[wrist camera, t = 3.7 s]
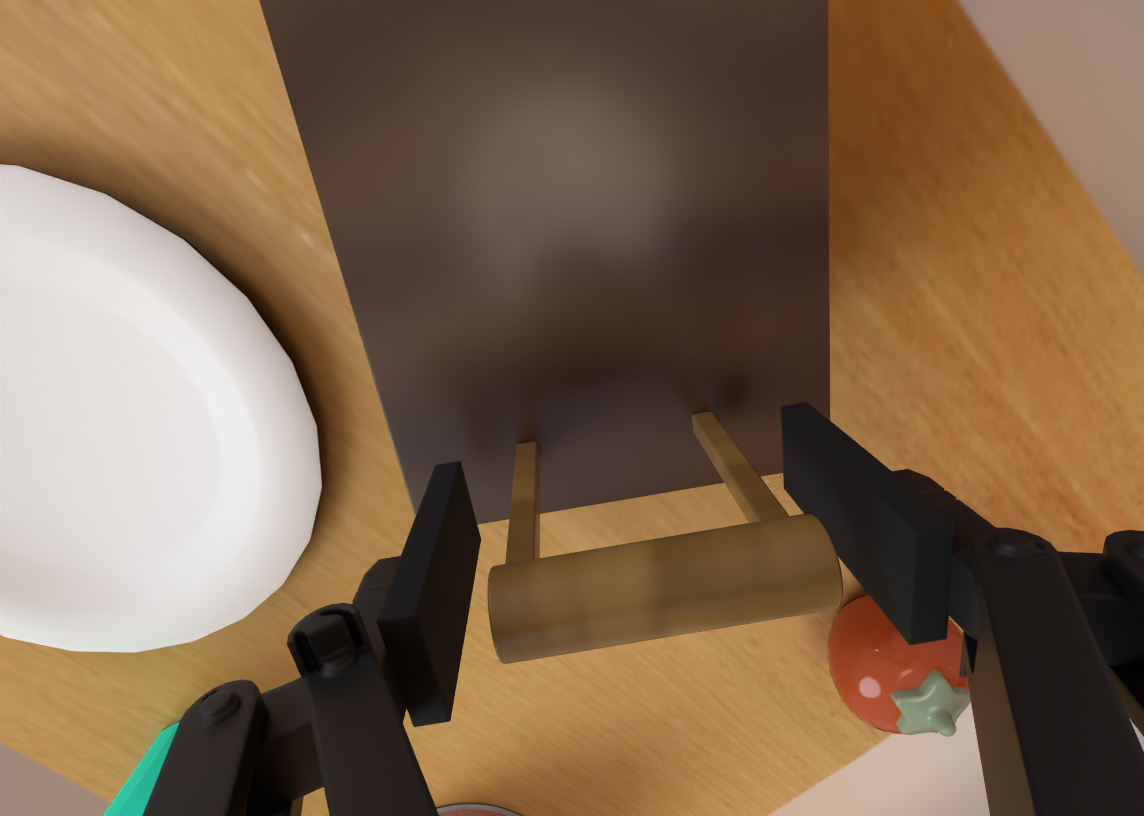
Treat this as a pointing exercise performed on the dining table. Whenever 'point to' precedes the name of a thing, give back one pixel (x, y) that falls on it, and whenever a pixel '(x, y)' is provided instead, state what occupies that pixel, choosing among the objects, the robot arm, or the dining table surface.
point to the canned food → (474, 810)
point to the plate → (137, 430)
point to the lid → (586, 279)
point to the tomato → (896, 673)
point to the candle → (143, 778)
